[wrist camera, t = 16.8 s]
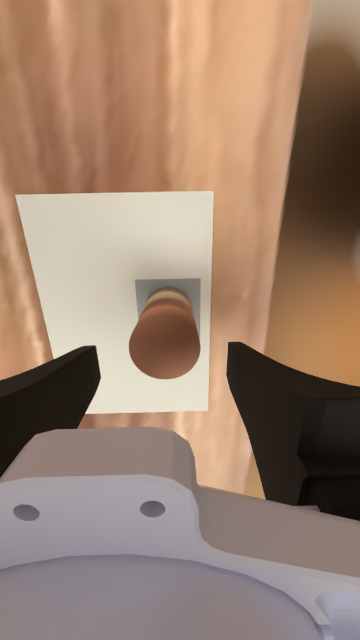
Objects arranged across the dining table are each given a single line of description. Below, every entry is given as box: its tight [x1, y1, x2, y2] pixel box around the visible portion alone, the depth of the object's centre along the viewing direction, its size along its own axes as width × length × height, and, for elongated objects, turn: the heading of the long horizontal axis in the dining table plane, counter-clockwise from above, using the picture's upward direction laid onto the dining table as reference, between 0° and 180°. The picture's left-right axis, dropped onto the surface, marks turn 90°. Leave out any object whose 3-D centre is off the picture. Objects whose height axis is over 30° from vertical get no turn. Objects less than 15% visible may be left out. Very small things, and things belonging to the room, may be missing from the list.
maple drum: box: [139, 287, 193, 318], centre depth 19 cm, size 4×4×4 cm
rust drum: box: [129, 298, 201, 379], centre depth 15 cm, size 4×4×4 cm
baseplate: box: [15, 191, 214, 414], centre depth 22 cm, size 22×16×1 cm
